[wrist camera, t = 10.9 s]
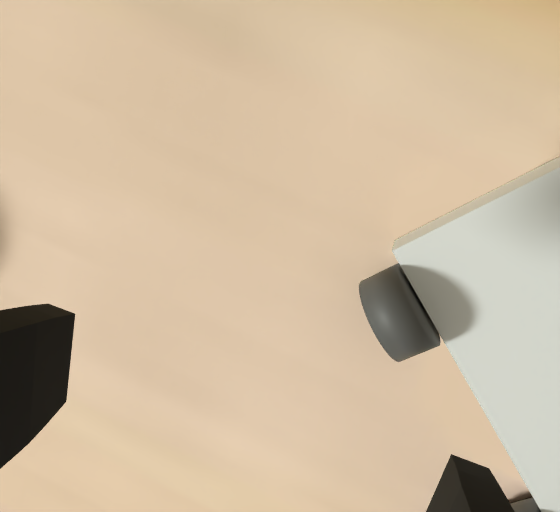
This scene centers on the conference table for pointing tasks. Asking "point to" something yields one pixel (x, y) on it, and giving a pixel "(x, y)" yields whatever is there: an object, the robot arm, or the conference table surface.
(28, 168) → the conference table surface
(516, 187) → the trolley deck
